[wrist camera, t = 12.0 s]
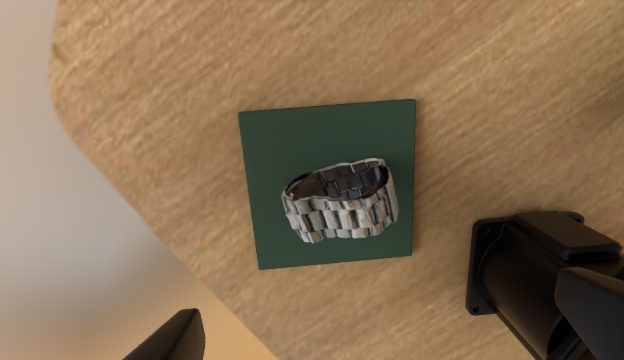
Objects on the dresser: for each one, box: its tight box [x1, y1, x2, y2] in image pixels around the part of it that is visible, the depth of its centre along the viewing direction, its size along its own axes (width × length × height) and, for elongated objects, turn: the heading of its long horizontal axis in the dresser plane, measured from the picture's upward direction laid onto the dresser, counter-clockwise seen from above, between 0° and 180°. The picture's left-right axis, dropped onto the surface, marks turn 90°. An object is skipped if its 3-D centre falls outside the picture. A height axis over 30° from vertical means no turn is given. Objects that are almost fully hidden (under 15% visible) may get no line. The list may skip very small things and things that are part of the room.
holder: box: [238, 99, 416, 270], centre depth 18 cm, size 9×9×1 cm
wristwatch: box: [281, 158, 399, 243], centre depth 16 cm, size 3×5×5 cm
